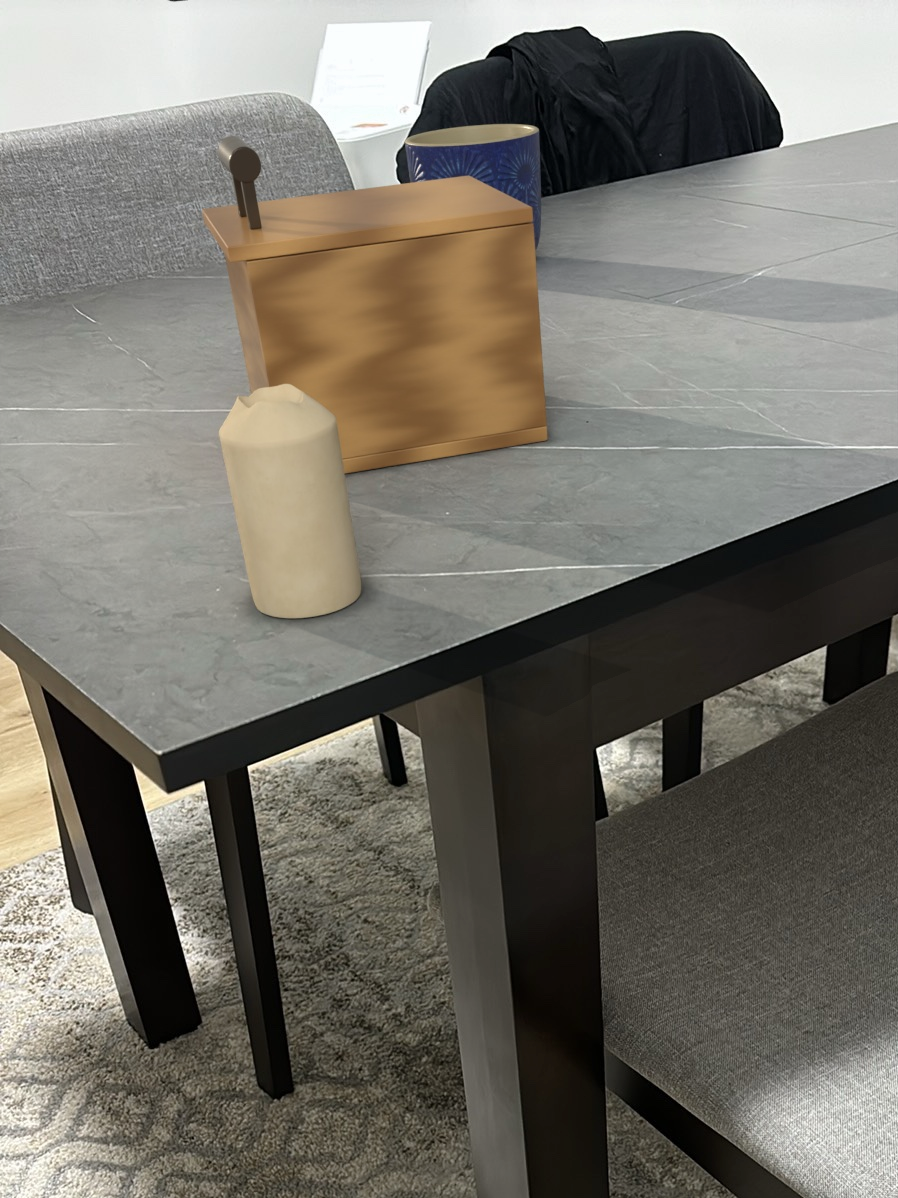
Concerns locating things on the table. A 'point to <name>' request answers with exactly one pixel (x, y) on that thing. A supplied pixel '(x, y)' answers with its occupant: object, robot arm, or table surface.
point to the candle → (291, 503)
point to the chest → (404, 341)
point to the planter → (483, 160)
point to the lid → (349, 212)
